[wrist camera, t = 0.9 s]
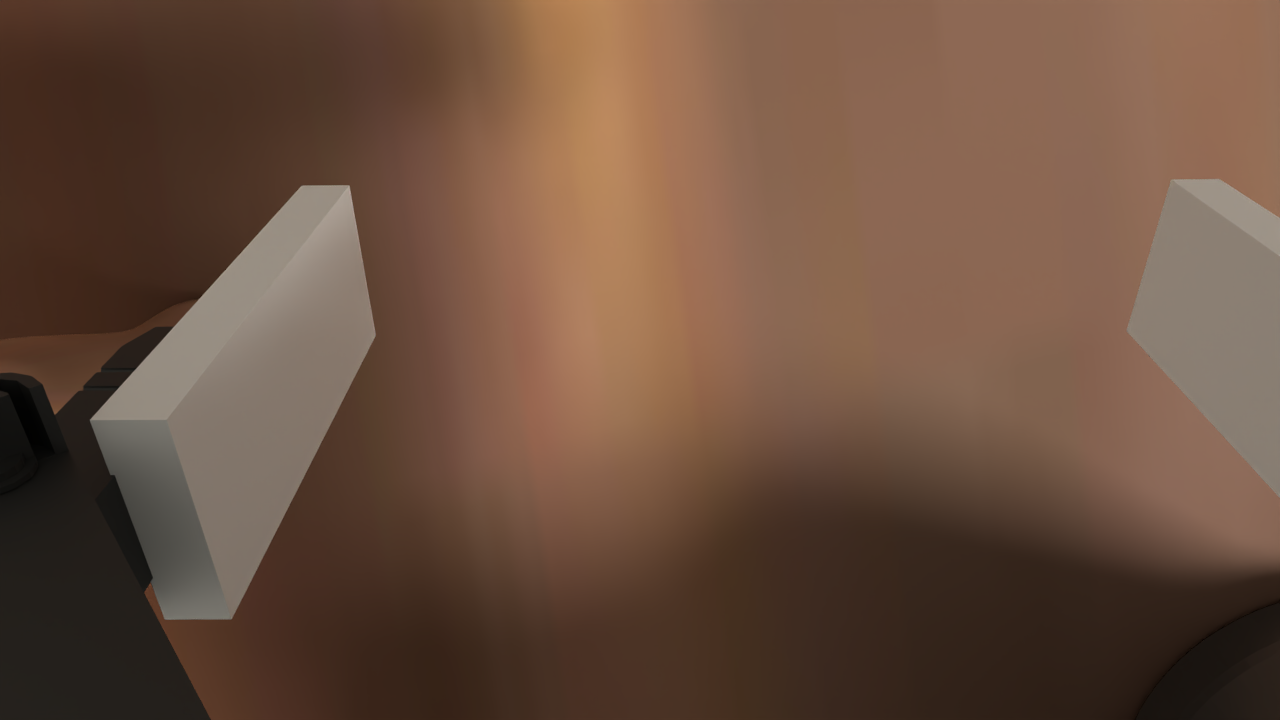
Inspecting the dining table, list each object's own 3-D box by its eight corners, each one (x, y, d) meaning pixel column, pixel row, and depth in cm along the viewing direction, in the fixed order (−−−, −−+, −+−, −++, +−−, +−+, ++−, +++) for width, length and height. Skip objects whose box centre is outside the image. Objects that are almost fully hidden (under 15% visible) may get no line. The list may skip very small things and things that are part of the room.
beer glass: (170, 485, 36) (-227, 717, 21) (101, 313, 35) (-372, 435, 20) (332, 444, 35) (29, 659, 20) (267, 264, 33) (-108, 355, 19)
